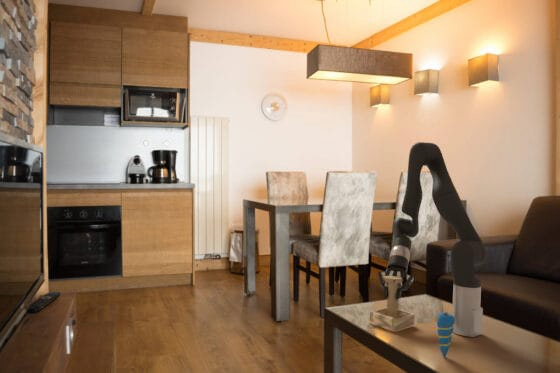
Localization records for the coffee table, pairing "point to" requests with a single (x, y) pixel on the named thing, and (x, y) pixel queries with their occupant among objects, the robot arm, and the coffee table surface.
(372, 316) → the socket block
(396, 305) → the handle
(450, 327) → the ornament
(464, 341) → the coffee table surface
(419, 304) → the coffee table surface
